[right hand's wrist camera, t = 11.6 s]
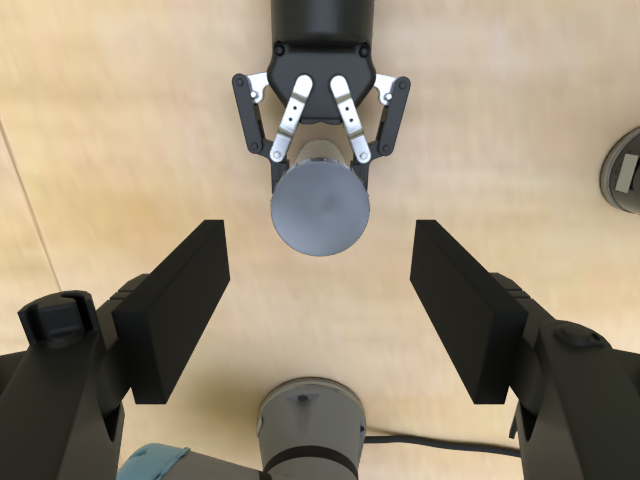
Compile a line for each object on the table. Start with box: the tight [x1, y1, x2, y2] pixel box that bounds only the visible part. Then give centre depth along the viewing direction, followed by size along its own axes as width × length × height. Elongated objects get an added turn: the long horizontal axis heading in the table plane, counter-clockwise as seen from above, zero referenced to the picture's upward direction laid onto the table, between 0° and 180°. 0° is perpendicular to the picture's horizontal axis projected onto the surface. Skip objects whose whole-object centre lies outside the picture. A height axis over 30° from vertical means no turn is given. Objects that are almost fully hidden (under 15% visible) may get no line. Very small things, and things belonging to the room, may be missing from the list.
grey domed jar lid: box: [270, 156, 370, 256], centre depth 20 cm, size 6×6×2 cm
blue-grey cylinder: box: [294, 139, 346, 165], centre depth 28 cm, size 5×5×17 cm
